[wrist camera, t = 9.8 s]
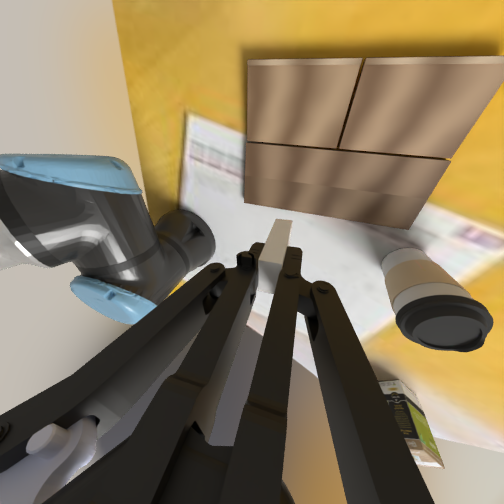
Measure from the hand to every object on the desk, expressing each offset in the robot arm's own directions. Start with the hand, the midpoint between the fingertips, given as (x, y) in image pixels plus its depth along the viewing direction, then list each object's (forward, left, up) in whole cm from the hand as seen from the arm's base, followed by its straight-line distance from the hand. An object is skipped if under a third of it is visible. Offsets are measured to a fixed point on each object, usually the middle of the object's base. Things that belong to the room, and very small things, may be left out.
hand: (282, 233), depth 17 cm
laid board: (+4, +1, -18) cm, 19 cm away
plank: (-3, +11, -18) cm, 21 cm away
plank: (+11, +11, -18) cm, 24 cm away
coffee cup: (+21, -11, -19) cm, 30 cm away
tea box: (+37, -57, -19) cm, 71 cm away
